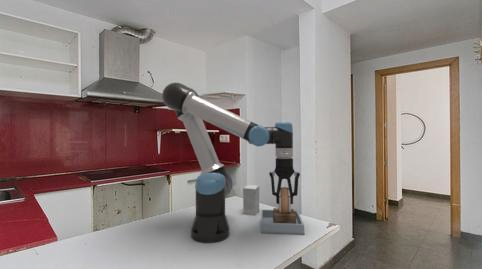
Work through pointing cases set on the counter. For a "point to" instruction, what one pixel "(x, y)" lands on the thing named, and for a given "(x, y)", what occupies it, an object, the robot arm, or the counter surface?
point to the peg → (284, 200)
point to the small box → (251, 199)
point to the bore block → (284, 217)
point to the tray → (280, 224)
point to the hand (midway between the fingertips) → (284, 211)
